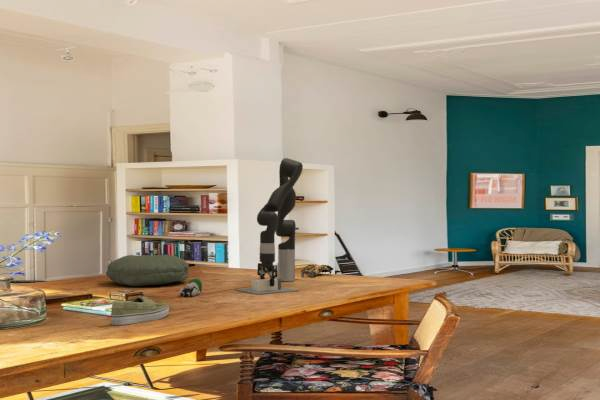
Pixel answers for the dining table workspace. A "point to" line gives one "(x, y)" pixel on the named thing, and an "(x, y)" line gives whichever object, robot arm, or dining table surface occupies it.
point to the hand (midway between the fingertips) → (267, 285)
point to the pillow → (147, 270)
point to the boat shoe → (137, 311)
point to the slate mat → (267, 291)
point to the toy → (191, 288)
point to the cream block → (265, 284)
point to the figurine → (316, 270)
